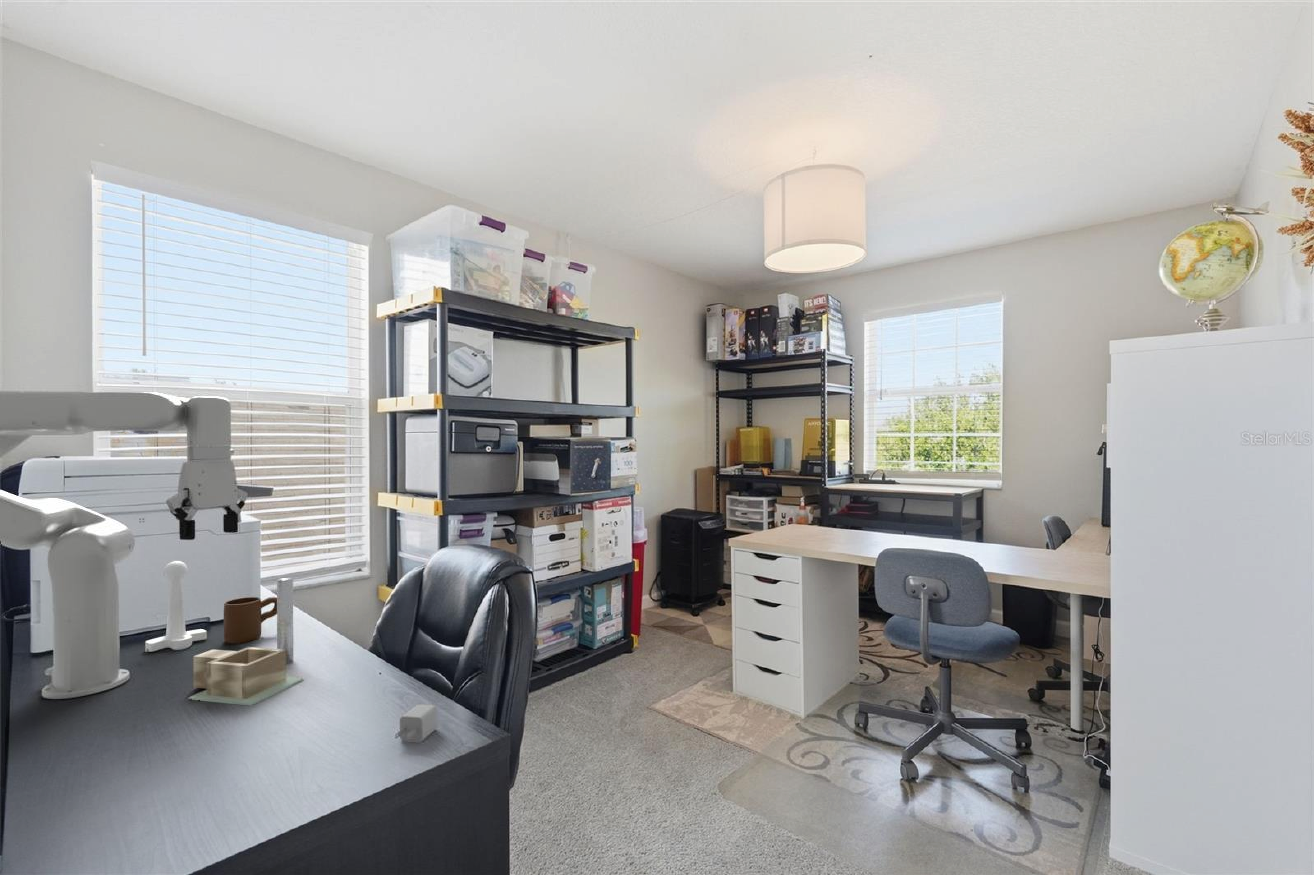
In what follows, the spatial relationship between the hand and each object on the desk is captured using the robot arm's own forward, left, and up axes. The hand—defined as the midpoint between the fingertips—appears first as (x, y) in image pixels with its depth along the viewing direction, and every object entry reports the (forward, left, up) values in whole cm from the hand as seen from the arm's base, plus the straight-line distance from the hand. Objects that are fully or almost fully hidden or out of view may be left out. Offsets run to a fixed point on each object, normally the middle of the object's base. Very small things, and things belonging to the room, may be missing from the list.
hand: (209, 535), depth 127 cm
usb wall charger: (+61, -18, -29) cm, 70 cm away
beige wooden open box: (+14, -7, -28) cm, 32 cm away
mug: (-10, +20, -28) cm, 36 cm away
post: (+12, +7, -28) cm, 32 cm away
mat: (+17, -7, -28) cm, 34 cm away
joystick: (-22, +11, -28) cm, 38 cm away
